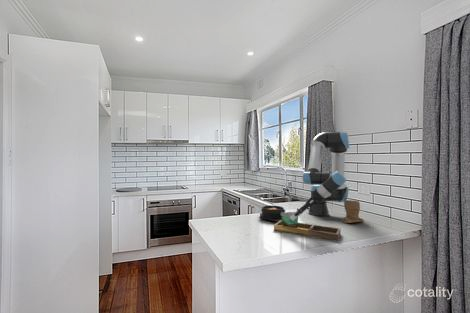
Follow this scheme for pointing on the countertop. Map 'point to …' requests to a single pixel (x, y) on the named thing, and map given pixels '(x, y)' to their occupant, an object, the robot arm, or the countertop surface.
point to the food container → (289, 220)
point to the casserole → (272, 213)
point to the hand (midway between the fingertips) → (294, 216)
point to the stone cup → (352, 211)
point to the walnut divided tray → (310, 230)
